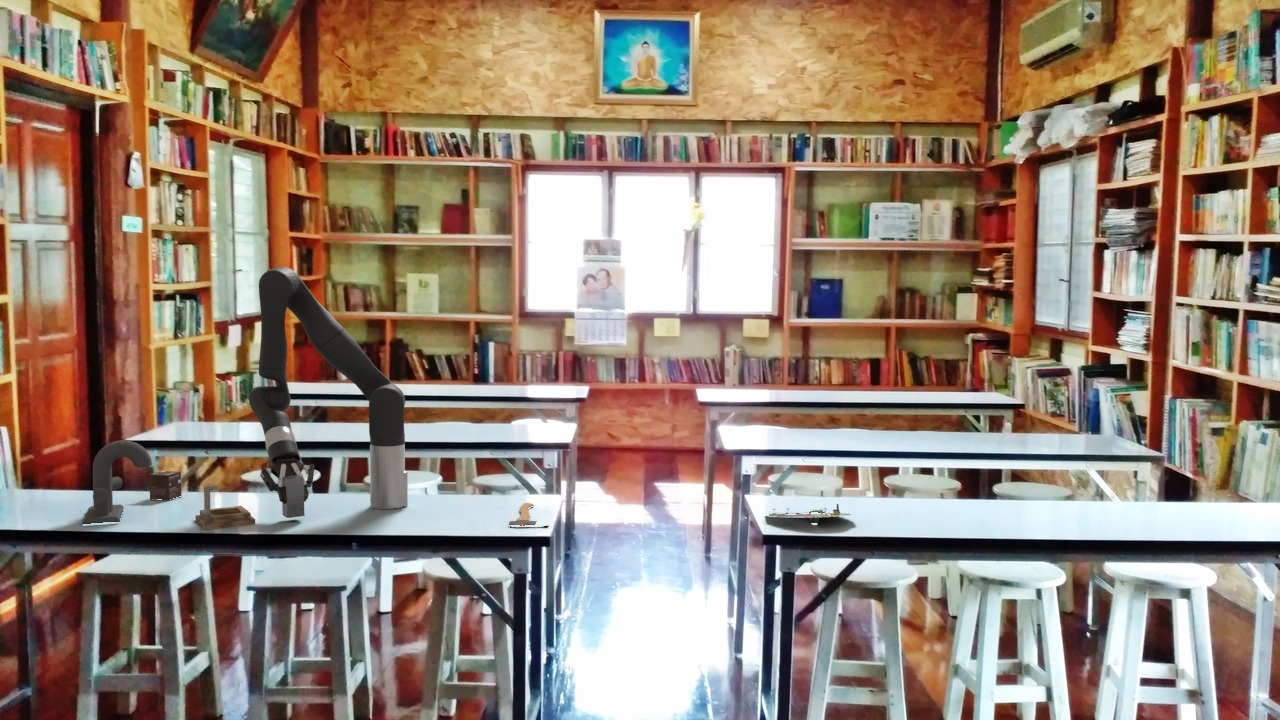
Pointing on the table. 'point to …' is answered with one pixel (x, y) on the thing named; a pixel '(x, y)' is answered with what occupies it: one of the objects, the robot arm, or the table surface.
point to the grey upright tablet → (293, 496)
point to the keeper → (222, 514)
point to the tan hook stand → (523, 516)
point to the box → (165, 485)
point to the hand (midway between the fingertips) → (295, 500)
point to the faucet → (111, 479)
